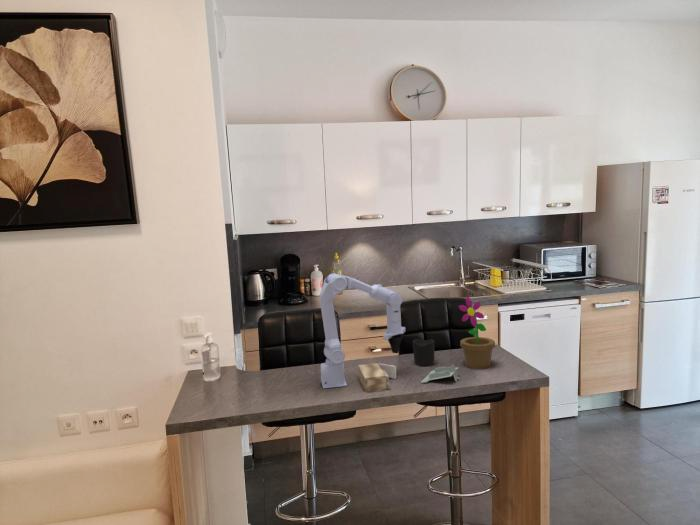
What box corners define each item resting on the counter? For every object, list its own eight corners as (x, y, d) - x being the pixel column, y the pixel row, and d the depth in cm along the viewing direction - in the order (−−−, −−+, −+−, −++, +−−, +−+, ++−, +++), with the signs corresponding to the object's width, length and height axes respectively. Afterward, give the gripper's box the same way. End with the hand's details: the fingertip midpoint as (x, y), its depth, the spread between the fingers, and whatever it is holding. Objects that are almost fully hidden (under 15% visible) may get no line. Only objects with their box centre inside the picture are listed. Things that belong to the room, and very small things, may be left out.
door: (395, 378, 194) (394, 366, 194) (379, 375, 199) (378, 364, 198) (396, 378, 195) (395, 366, 195) (380, 375, 200) (380, 363, 199)
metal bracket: (460, 361, 196) (450, 372, 182) (464, 374, 195) (454, 387, 182) (428, 367, 202) (416, 379, 189) (432, 380, 202) (420, 393, 189)
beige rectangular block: (365, 392, 182) (365, 378, 182) (358, 378, 198) (358, 365, 198) (391, 389, 184) (390, 375, 183) (382, 375, 200) (381, 362, 199)
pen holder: (422, 368, 206) (421, 345, 205) (409, 362, 214) (408, 340, 213) (439, 363, 211) (438, 341, 209) (426, 358, 219) (425, 337, 218)
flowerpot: (454, 365, 207) (451, 296, 204) (473, 357, 217) (471, 291, 213) (483, 372, 196) (481, 300, 193) (502, 363, 206) (500, 294, 203)
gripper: (393, 325, 190) (394, 358, 191) (411, 317, 202) (412, 349, 203) (378, 323, 194) (379, 356, 196) (396, 316, 206) (398, 347, 207)
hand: (395, 352), depth 200 cm, fingers closed
